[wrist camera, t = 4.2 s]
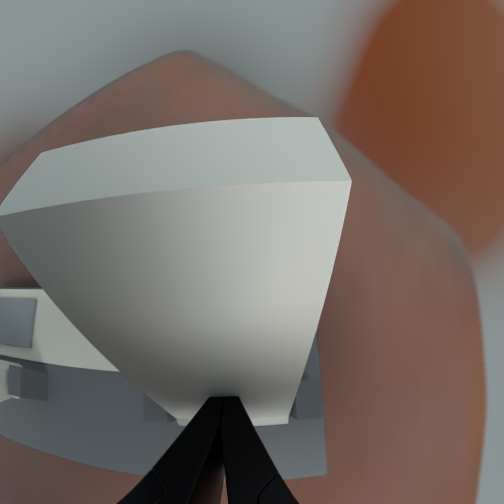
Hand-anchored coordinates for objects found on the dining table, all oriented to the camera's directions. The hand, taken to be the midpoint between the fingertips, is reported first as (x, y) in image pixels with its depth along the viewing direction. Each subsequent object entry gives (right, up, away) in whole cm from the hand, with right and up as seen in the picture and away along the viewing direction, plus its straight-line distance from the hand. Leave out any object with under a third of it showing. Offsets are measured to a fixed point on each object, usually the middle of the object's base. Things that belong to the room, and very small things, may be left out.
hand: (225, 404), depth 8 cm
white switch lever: (0, -2, +3) cm, 4 cm away
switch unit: (-7, -4, +7) cm, 11 cm away
